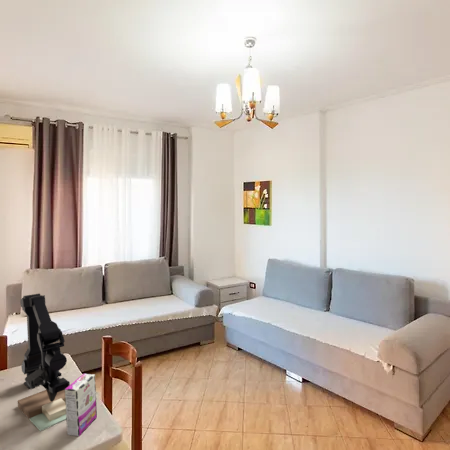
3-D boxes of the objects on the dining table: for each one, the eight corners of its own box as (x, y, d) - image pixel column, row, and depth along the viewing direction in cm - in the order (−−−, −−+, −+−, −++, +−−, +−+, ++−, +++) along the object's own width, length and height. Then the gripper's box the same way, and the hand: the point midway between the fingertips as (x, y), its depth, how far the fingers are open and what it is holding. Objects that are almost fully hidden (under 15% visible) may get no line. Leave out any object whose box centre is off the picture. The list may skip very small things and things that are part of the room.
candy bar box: (85, 415, 130) (83, 372, 129) (97, 417, 129) (96, 374, 128) (65, 435, 119) (63, 388, 118) (78, 437, 118) (77, 390, 117)
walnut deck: (17, 406, 136) (17, 400, 136) (59, 390, 148) (59, 384, 148) (29, 419, 128) (29, 412, 128) (72, 400, 140) (72, 394, 140)
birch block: (42, 411, 131) (42, 405, 131) (61, 403, 136) (61, 398, 136) (49, 421, 126) (49, 415, 126) (69, 412, 131) (69, 406, 131)
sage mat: (29, 419, 128) (29, 418, 128) (72, 400, 140) (72, 399, 140) (40, 431, 121) (40, 430, 121) (85, 410, 133) (84, 409, 133)
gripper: (18, 360, 133) (19, 400, 134) (37, 376, 120) (39, 420, 121) (48, 351, 141) (50, 389, 142) (69, 365, 129) (71, 406, 130)
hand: (51, 400), depth 133 cm, fingers closed
